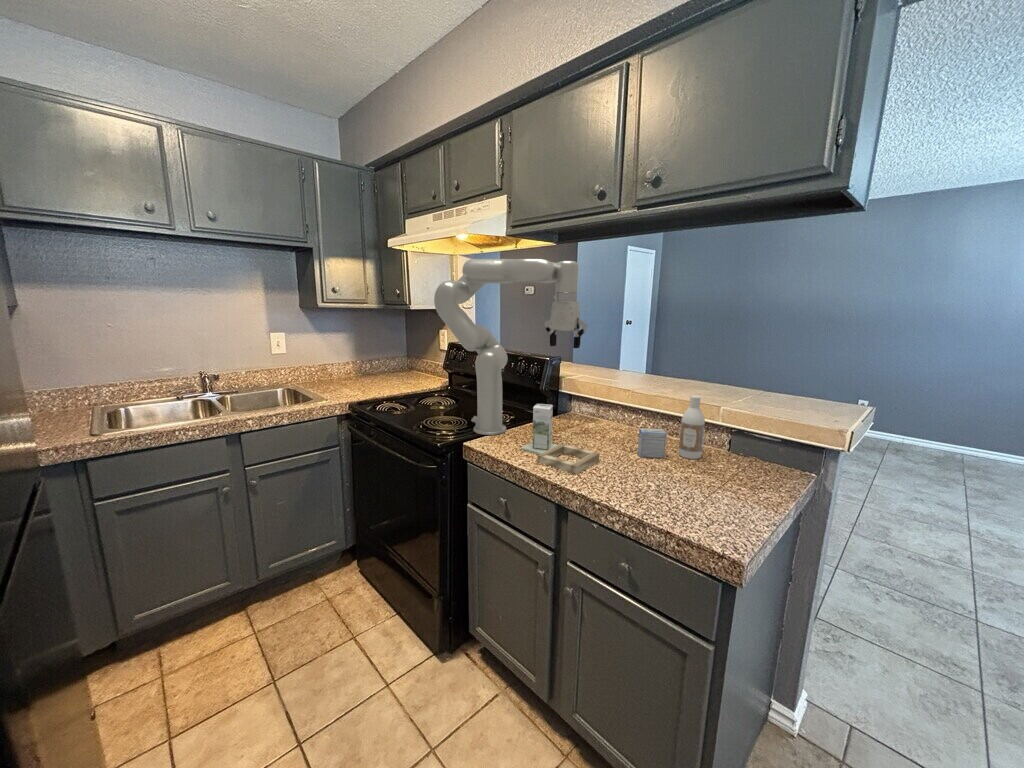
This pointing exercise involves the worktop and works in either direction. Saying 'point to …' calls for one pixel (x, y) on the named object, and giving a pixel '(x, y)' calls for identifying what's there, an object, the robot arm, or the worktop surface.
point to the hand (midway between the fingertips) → (564, 346)
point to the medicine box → (652, 443)
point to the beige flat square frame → (585, 462)
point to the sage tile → (536, 451)
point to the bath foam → (692, 430)
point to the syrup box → (542, 426)
